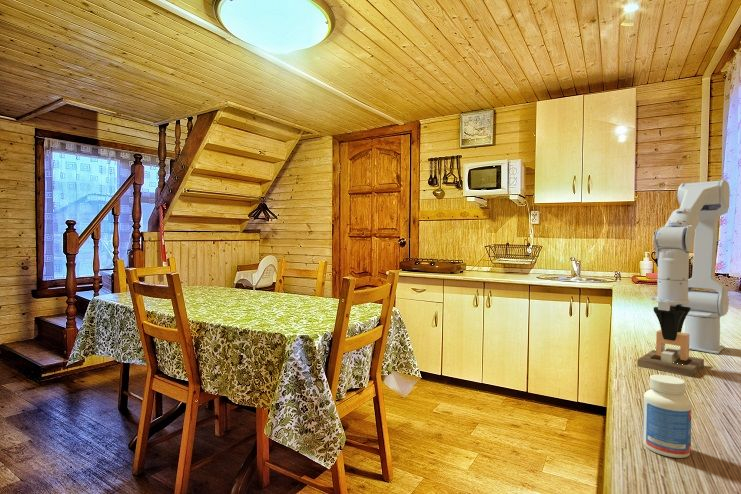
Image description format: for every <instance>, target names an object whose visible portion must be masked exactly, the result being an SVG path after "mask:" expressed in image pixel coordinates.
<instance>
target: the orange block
mask: <svg viewBox="0 0 741 494" xmlns="http://www.w3.org/2000/svg"><path fill="white" fill-rule="evenodd" d="M689 339H690V334H687V333H685V332H681V333H680V332H677V336H676V339H675V341H672V340H666V339H663V335H662V331H661V329H658V330H657V331H656V339H655V340H656V342H655V343H656V344H655V346H656V347H655V350H656V355H658V356H661V353H662V352H663V351H665V350H666V345H671V346H672V345H673V346H677V347H680V346H681V352H680V360H685V361H686V360H687V359H688V358H689V356H690V349H689Z"/></svg>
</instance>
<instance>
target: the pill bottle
mask: <svg viewBox="0 0 741 494" xmlns="http://www.w3.org/2000/svg"><path fill="white" fill-rule="evenodd" d="M649 387H650V388H651V389H648V390H647V391H645V392H644V394H643V410H642V411H643V413H642V414H643V418H642V420H643V421H642V422H643V423H642V424H643V425H642V429H643V430H642V442H643V445H644V446H645V448H647V449H648V450H650V451H651V452H654V453H655V454H659V455H661V456H665V457H669V458H674V459H675V458H676V459H684V458H687V457H689V456H690V455H691V451H692V403H691V402H692V401H691V400H690V399H689V398H688V397H687V396H686V395H684V394H685V392H686V381H685V380H684V379H682V378H679V377H677V376H672V375H667V374H666V375H665V374H652V375H650V376H649Z"/></svg>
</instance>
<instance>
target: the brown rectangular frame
mask: <svg viewBox="0 0 741 494" xmlns="http://www.w3.org/2000/svg"><path fill="white" fill-rule="evenodd" d="M680 352H681V348H680V347H674V346H670V347H668V348H665V351H663V352H662V353H661V356H658V355H656V349H652V350H651V351H649V352H648V353H646V354H644V355H642V356H641V357H639V358H638V359H637V367H640V368H641V367H642V368H646V369H651V370H656V371H662V372H667V373H670V374H676V375H681V376H686V377H690V378H692V377H694V376H695V375H696V374H697V373H699V371H700V370H701V369H702V368H703V367H704V366H705V359H704V358H700V357H694V356H690V355H689V358H688V359H687V360H686V361H685V360H680ZM673 362H674V363H673ZM677 363H678V364H677ZM682 364H683V365H682Z"/></svg>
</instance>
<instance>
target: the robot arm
mask: <svg viewBox="0 0 741 494" xmlns="http://www.w3.org/2000/svg"><path fill="white" fill-rule="evenodd" d="M730 190H731V189H730V184H729V182H728V180H726V179H720V180H713V181H701V182H700V181H698V182H687V183H686V182H682V183H680V185H679V186H678V188H677V196H676V197H677V202H678V205H680V206H679V208H677V209H675V210H673V211H672V212H671V213H670V215H669V217H668V219H667V221H666V223H665V224H664V226H661V227H660V228H658V229H656V231H655V232H654V236H653V246H654V250H655V258H656V259H657V284H656V285H657V286H656V287H657V290H656V292H657V293H656V296H650V300H651V301H656V302H657V306H655V307H653V313H654V314H655V316H656V317H657V320H658V322H659V326H660V330H661V331H662V335H663V339H666V340H672V341H675V339H676V336H677V332H680V333H682V330H683V326H684V333H687V334H690V339H689V350H693V351H698V352H699V351H700V352H704V353H711V354H716V355H717V354H720V352H722V351H723V350H724V349H725V346H724V345H721V343H720V342H721V341H720V340H721V317H724V316H726V315H727V314H728V311H729V304H730V302H729V289H728V288H727V286H726V285H725V284H724V283H722V282H721V281H719V280H717V279H716V274H715V273H716V263H717V261H716V260H717V257H716V256H717V240H718V225H719V221H720V217H721V216H723V215H726V214H728V212H729V211H728V210H729V208H730V195H731V194H730V193H731V191H730ZM692 251H693V255H692V256H693V257H692V275H691V277H690V278H689V273H690V272H689V270H690V253H691V252H692ZM703 289H704V290H703ZM712 290H715V291H712ZM679 348H681V346H679Z"/></svg>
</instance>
